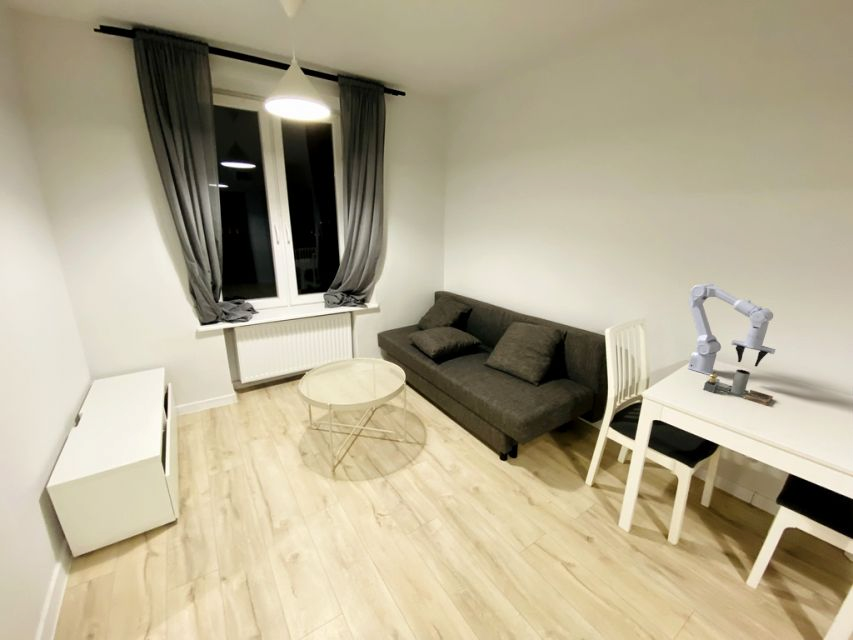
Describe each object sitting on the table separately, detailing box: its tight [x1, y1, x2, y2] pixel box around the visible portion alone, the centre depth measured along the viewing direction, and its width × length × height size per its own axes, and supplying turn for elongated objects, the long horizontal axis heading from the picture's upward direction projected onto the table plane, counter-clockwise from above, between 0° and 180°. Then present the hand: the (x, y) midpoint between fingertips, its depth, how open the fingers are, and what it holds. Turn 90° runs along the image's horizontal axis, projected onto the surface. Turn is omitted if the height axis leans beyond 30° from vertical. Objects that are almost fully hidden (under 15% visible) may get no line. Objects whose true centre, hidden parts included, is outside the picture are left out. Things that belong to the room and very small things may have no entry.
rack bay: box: [743, 389, 774, 407], centre depth 151 cm, size 7×8×2 cm
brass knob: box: [708, 373, 718, 385], centre depth 157 cm, size 3×3×5 cm
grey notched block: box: [708, 378, 731, 391], centre depth 161 cm, size 7×4×3 cm, turn 37°
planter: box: [730, 369, 751, 396], centre depth 155 cm, size 4×4×10 cm
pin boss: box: [703, 380, 718, 394], centre depth 158 cm, size 4×5×4 cm
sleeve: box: [716, 381, 750, 399], centre depth 159 cm, size 14×8×1 cm, turn 37°
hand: (747, 363), depth 161 cm, fingers open, 5 cm apart
